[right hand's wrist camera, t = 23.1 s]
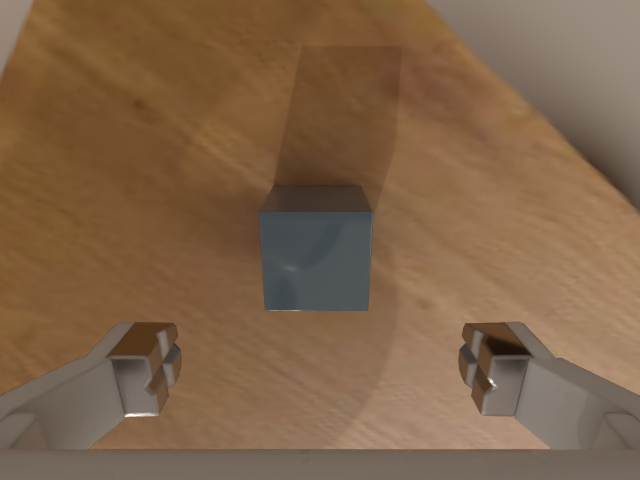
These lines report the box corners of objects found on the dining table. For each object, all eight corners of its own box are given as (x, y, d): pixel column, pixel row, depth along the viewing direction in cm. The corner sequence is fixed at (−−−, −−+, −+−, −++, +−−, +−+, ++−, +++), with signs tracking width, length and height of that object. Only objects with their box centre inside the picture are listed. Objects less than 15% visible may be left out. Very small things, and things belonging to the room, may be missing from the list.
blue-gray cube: (276, 266, 21) (264, 311, 16) (272, 185, 19) (258, 212, 15) (358, 266, 21) (368, 311, 16) (361, 185, 19) (373, 211, 15)
